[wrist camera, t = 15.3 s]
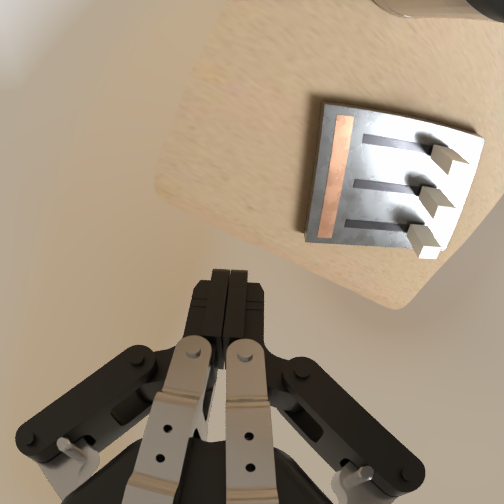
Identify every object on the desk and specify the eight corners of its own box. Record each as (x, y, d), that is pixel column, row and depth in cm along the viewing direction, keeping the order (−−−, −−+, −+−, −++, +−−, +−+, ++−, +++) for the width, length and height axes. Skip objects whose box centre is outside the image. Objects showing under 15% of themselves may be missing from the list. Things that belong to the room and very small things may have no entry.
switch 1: (410, 224, 40) (423, 245, 36) (427, 225, 40) (441, 247, 36) (406, 235, 42) (418, 258, 38) (423, 236, 42) (436, 259, 38)
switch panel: (321, 100, 33) (324, 104, 32) (477, 133, 33) (485, 139, 31) (303, 233, 45) (305, 242, 43) (439, 242, 45) (444, 251, 43)
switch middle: (422, 186, 37) (438, 205, 33) (440, 188, 36) (456, 208, 33) (418, 199, 38) (433, 219, 34) (435, 201, 38) (451, 221, 34)
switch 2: (433, 144, 33) (452, 160, 29) (452, 148, 33) (471, 164, 29) (430, 158, 34) (448, 175, 30) (448, 162, 34) (466, 179, 30)
